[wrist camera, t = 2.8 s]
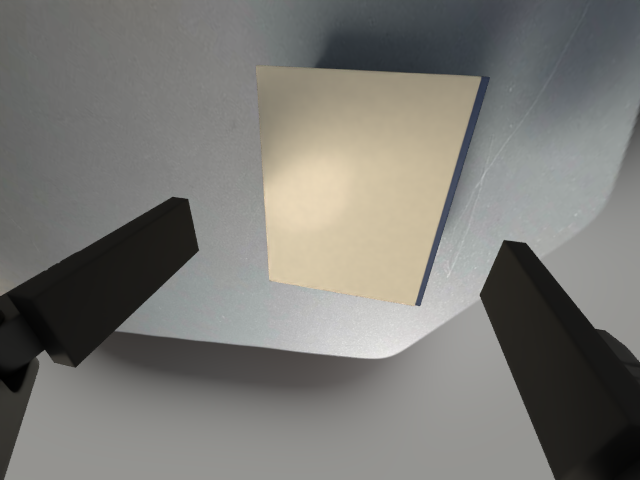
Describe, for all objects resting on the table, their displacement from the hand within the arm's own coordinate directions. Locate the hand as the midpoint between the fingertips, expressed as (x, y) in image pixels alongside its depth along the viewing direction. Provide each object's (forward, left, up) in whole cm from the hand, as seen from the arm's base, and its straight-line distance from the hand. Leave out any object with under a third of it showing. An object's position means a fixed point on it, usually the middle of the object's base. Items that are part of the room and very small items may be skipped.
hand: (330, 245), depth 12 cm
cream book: (0, 0, -7) cm, 7 cm away
